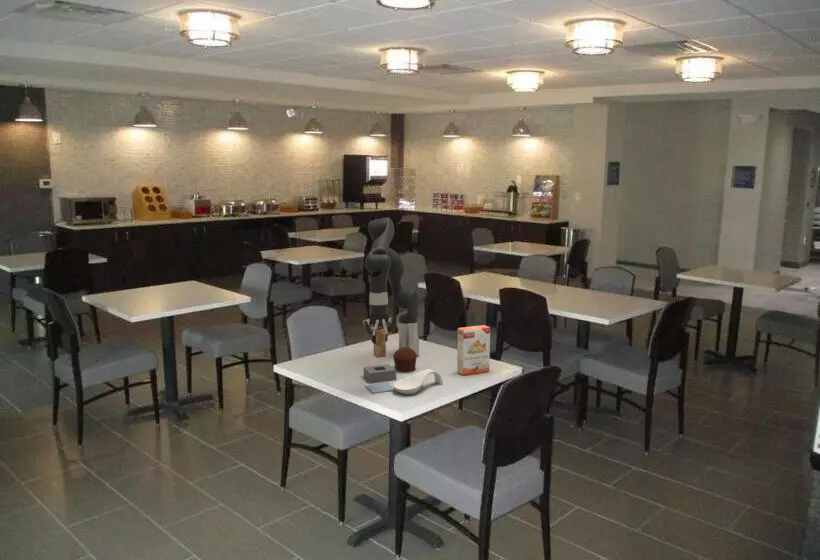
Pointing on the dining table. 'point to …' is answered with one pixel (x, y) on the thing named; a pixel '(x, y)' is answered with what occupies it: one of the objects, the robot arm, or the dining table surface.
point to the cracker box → (473, 350)
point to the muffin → (405, 359)
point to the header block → (379, 373)
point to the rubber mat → (380, 388)
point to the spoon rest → (415, 382)
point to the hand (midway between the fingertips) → (379, 342)
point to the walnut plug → (380, 343)
